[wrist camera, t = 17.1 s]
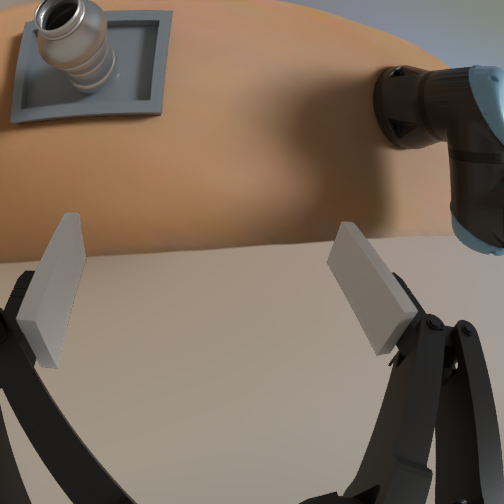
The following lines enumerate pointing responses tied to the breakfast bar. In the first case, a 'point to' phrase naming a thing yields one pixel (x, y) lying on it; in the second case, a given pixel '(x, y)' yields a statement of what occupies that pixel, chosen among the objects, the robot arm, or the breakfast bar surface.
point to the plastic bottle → (76, 42)
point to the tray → (116, 93)
